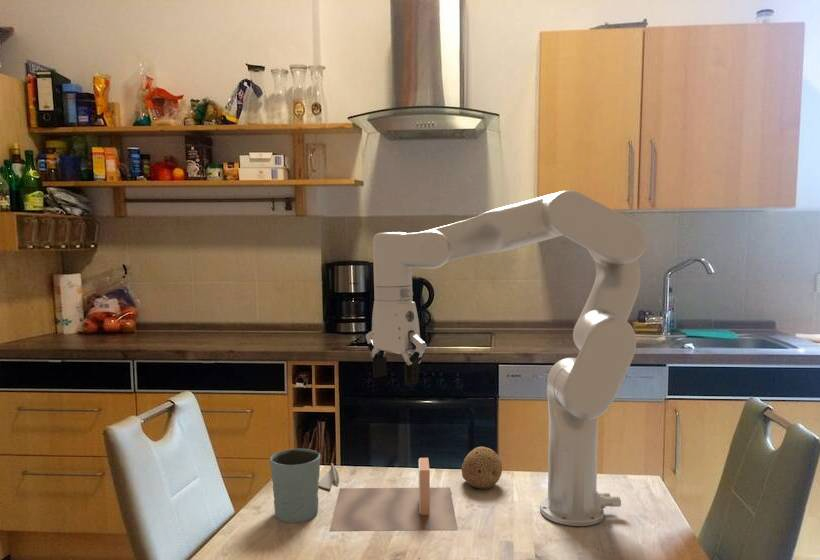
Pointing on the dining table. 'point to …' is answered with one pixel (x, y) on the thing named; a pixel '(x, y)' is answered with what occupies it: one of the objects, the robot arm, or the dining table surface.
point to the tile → (424, 486)
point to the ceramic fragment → (329, 479)
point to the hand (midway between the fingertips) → (395, 380)
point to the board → (392, 510)
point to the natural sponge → (482, 468)
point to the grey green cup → (295, 484)
